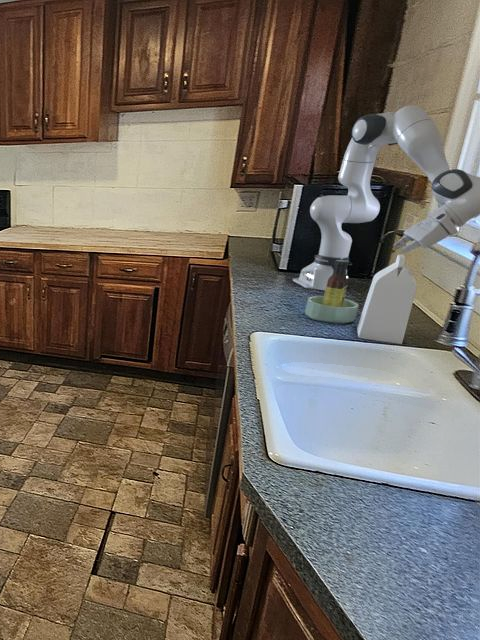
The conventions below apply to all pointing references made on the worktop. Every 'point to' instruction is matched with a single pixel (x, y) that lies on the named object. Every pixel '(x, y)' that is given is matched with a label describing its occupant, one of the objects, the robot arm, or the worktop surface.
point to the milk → (388, 304)
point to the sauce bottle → (336, 285)
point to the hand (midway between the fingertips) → (398, 249)
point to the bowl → (331, 311)
